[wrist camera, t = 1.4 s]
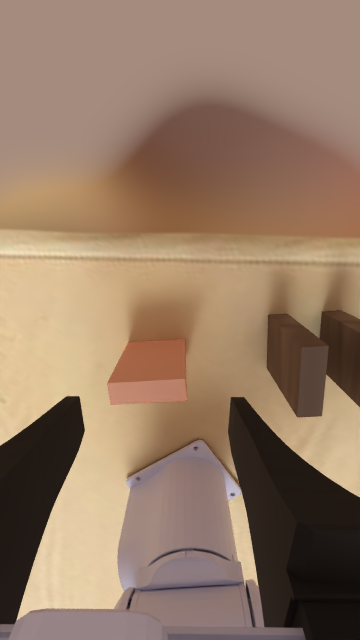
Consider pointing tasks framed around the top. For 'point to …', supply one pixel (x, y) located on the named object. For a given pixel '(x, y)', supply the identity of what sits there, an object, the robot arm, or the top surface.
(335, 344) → the domino
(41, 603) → the top surface
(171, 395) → the terracotta domino
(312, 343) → the domino
